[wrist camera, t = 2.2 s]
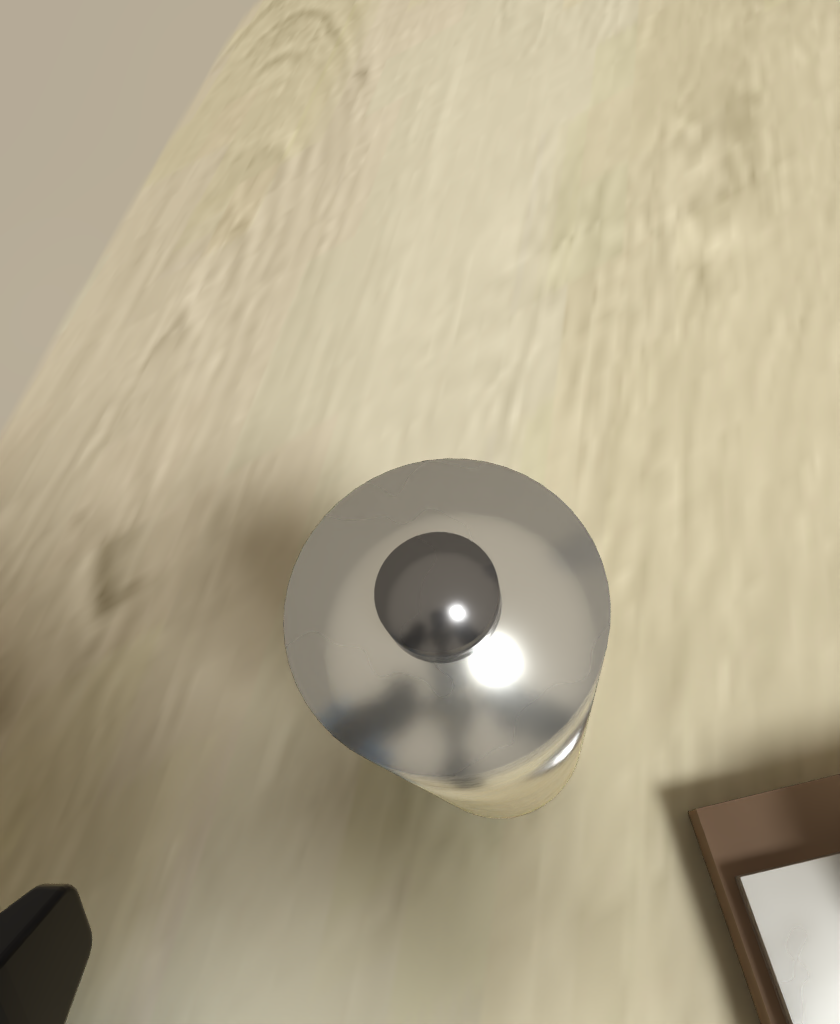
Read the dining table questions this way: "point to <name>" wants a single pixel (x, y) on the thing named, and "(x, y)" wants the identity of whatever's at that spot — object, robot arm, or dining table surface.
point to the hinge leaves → (799, 934)
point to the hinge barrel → (453, 631)
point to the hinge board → (764, 859)
